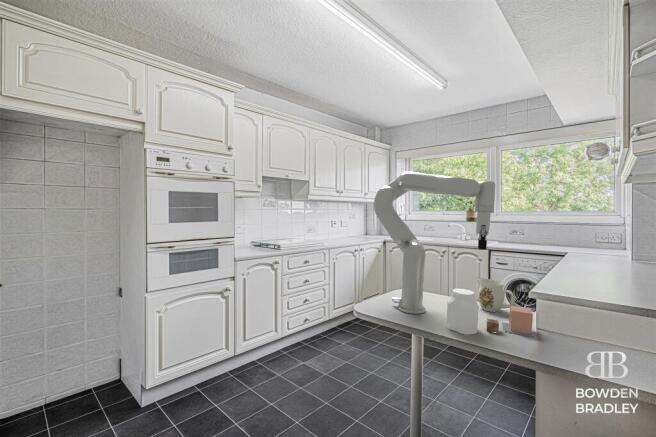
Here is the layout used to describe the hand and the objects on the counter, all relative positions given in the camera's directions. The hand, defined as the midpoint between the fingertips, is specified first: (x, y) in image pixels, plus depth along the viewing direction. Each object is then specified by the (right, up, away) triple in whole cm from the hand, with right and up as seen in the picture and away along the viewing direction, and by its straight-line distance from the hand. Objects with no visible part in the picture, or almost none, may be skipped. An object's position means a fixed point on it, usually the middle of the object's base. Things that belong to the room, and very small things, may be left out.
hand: (482, 247), depth 141 cm
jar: (-15, -31, -14) cm, 37 cm away
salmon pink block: (+8, -31, -14) cm, 35 cm away
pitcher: (+9, -30, +8) cm, 33 cm away
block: (-4, -31, -16) cm, 35 cm away
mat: (+7, -31, -14) cm, 35 cm away
